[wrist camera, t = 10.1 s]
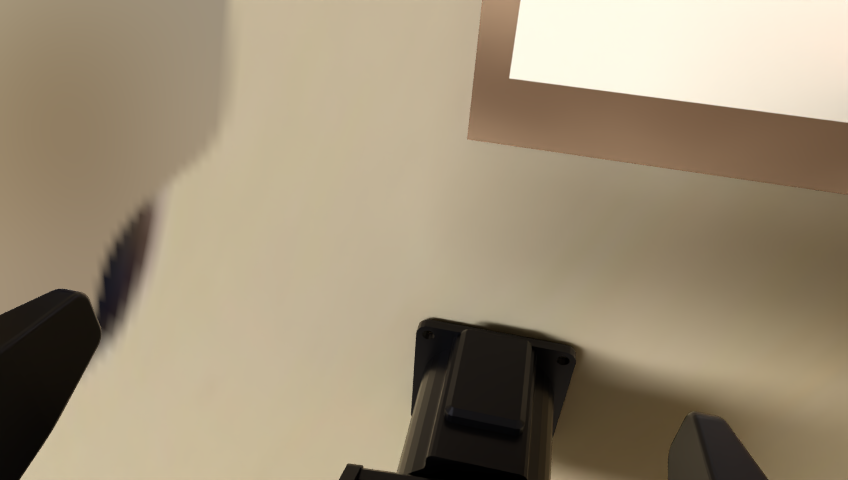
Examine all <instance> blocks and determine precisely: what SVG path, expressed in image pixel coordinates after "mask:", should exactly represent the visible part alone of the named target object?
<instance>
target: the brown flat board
mask: <svg viewBox="0 0 848 480" xmlns="http://www.w3.org/2000/svg"><path fill="white" fill-rule="evenodd" d="M520 1H521V0H482V7H481V16H480V26H479V35H478V44H477V53H476V63H475V72H474V81H473V90H472V100H471V109H470V118H469V127H468V137H467V139H469V140H476V141H483V142H490V143H497V144H504V145H510V146H517V147H524V148H531V149H538V150H545V151H552V152H559V153H565V154H572V155H579V156H586V157H593V158H600V159H607V160H614V161H620V162H627V163H634V164H641V165H648V166H655V167H662V168H668V169H675V170H682V171H689V172H696V173H703V174H710V175H717V176H723V177H730V178H737V179H744V180H751V181H758V182H765V183H772V184H778V185H785V186H792V187H799V188H806V189H813V190H820V191H827V192H833V193H840V194H847V195H848V123H846V122H838V121H831V120H823V119H816V118H808V117H800V116H793V115H785V114H777V113H770V112H762V111H755V110H747V109H739V108H732V107H724V106H716V105H709V104H701V103H693V102H686V101H678V100H671V99H663V98H655V97H648V96H640V95H632V94H625V93H617V92H610V91H602V90H594V89H587V88H579V87H571V86H564V85H556V84H549V83H541V82H533V81H526V80H518V79H510V78H509V76H510V69H511V62H512V55H513V49H514V42H515V35H516V28H517V21H518V14H519V7H520Z"/></svg>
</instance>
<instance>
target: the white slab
mask: <svg viewBox="0 0 848 480" xmlns="http://www.w3.org/2000/svg"><path fill="white" fill-rule="evenodd" d="M509 78H510V79H518V80H526V81H533V82H541V83H549V84H556V85H564V86H571V87H579V88H587V89H594V90H602V91H610V92H617V93H625V94H632V95H640V96H648V97H655V98H663V99H671V100H678V101H686V102H693V103H701V104H709V105H716V106H724V107H732V108H739V109H747V110H755V111H762V112H770V113H777V114H785V115H793V116H800V117H808V118H816V119H823V120H831V121H838V122H846V123H848V0H521V1H520V7H519V14H518V21H517V28H516V35H515V42H514V49H513V55H512V62H511V69H510V76H509Z"/></svg>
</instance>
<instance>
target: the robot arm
mask: <svg viewBox="0 0 848 480" xmlns="http://www.w3.org/2000/svg"><path fill="white" fill-rule="evenodd" d="M427 331H431V332H432V333H429V332H427ZM100 339H101V327H100V324H99V322H98V319H97V317H96V314H95V312H94V309H93V307H92V304H91V302H90V299H89V298H88V296H87V295H86V294H84V293H82V292H78V291H73V290H67V289H56V290H53V291H51V292H49V293H46V294H44V295H42V296H40V297H38V298H36V299H34V300H31V301H29V302H27V303H25V304H23V305H20V306H18V307H16V308H14V309H12V310H10V311H8V312H5V313H3V314H1V315H0V480H20V478H21V477H22V475H23V474H24V472H25V471H26V469H27V468H28V467H29V465H30V464H31V462H32V461H33V459H34V458H35V456H36V455H37V453H38V452H39V450H40V449H41V447H42V446H43V444H44V443H45V441H46V439H47V438H48V436H49V435H50V433H51V432H52V430H53V428H54V426H55V425H56V423H57V421H58V420H59V418H60V416H61V414H62V412H63V410H64V409H65V407H66V405H67V403H68V401H69V399H70V397H71V396H72V394H73V392H74V390H75V388H76V386H77V384H78V383H79V381H80V379H81V377H82V375H83V373H84V371H85V370H86V368H87V366H88V364H89V362H90V360H91V358H92V356H93V355H94V353H95V351H96V349H97V347H98V345H99V343H100ZM560 356H565V357H566V358H562V357H560ZM575 364H576V352H575V350H574V349H573V348H572V347H570V346H568V345H564V344H558V343H553V342H548V341H542V340H537V339H531V338H526V337H521V336H515V335H510V334H505V333H499V332H494V331H489V330H483V329H478V328H472V327H467V326H462V325H456V324H451V323H446V322H440V321H435V320H423V321H421V322H420V323H419V326H418V329H417V332H416V346H415V362H414V377H413V393H412V408H411V416H412V418H411V421H410V425H409V429H408V433H407V436H406V440H405V444H404V448H403V451H402V455H401V459H400V463H399V466H398V470H397V473H394V472H387V471H380V470H373V469H366V468H363V465H356V464H347V466H346V468H345V470H344V471H343V473H342V475H341V477H340V479H339V480H550V478H551V455H552V438H553V435H554V431H555V428H556V425H557V422H558V419H559V415H560V412H561V409H562V406H563V402H564V399H565V396H566V393H567V390H568V386H569V383H570V380H571V377H572V373H573V370H574V367H575ZM668 480H768V479H767V477H766V476H765V475H764V473H763V472H762V470H761V469H760V468H759V466H758V465H757V464H756V462H755V461H754V459H753V458H752V457H751V455H750V454H749V453H748V451H747V450H746V448H745V447H744V446H743V444H742V443H741V442H740V440H739V439H738V437H737V436H736V435H735V433H734V432H733V431H732V429H731V428H730V426H729V425H728V424H727V422H726V421H725V420H723V419H722V418H721V417H719V416H715V415H710V414H705V413H700V412H690V413H689V414H688V415H687V416H686V417H685V419H684V421H683V423H682V425H681V427H680V429H679V431H678V433H677V435H676V437H675V438H674V440H673V442H672V444H671V447H670V450H669V456H668Z"/></svg>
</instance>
